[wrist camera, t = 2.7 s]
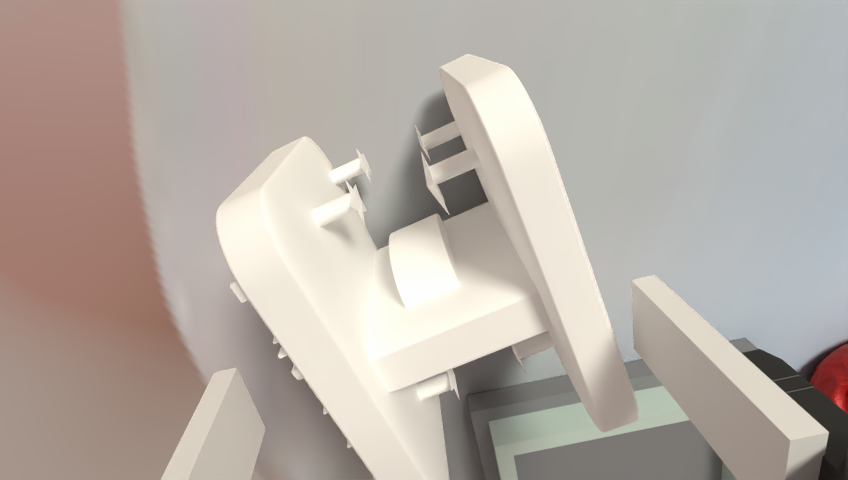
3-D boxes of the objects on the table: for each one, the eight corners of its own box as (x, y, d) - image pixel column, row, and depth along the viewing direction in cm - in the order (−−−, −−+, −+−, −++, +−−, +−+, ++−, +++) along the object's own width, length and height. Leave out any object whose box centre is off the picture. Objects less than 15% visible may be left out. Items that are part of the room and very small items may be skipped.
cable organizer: (561, 297, 28) (661, 456, 18) (399, 362, 30) (403, 548, 19) (466, 48, 23) (531, 65, 12) (270, 142, 24) (170, 233, 13)
